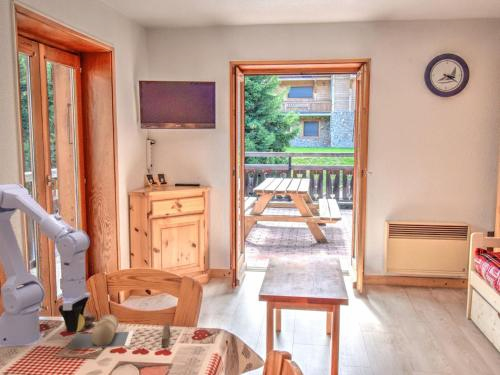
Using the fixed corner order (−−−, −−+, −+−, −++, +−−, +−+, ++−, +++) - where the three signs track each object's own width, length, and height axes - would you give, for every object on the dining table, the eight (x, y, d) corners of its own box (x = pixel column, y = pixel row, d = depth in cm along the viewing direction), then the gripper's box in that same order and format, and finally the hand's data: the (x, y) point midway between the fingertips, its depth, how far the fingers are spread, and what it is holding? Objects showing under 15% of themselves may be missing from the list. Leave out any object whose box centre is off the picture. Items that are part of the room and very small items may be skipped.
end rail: (161, 347, 122) (161, 339, 121) (164, 330, 133) (164, 322, 133) (167, 347, 122) (167, 338, 122) (169, 330, 134) (169, 322, 133)
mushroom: (86, 326, 128) (83, 305, 131) (61, 336, 129) (58, 314, 132) (100, 329, 135) (97, 309, 138) (76, 339, 136) (74, 319, 139)
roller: (91, 346, 121) (91, 326, 120) (98, 333, 129) (97, 314, 129) (113, 345, 121) (112, 325, 121) (118, 332, 130) (118, 313, 130)
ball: (62, 335, 117) (62, 317, 117) (67, 328, 122) (67, 310, 122) (82, 335, 118) (82, 316, 118) (86, 328, 123) (86, 310, 123)
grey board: (66, 351, 119) (66, 348, 119) (76, 336, 129) (76, 333, 129) (129, 347, 121) (129, 345, 121) (133, 333, 131) (133, 331, 131)
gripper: (83, 285, 113) (84, 338, 114) (95, 270, 127) (95, 317, 128) (53, 285, 112) (54, 339, 113) (69, 270, 126) (69, 318, 127)
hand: (74, 327), depth 120 cm, fingers closed on ball, 5 cm apart
